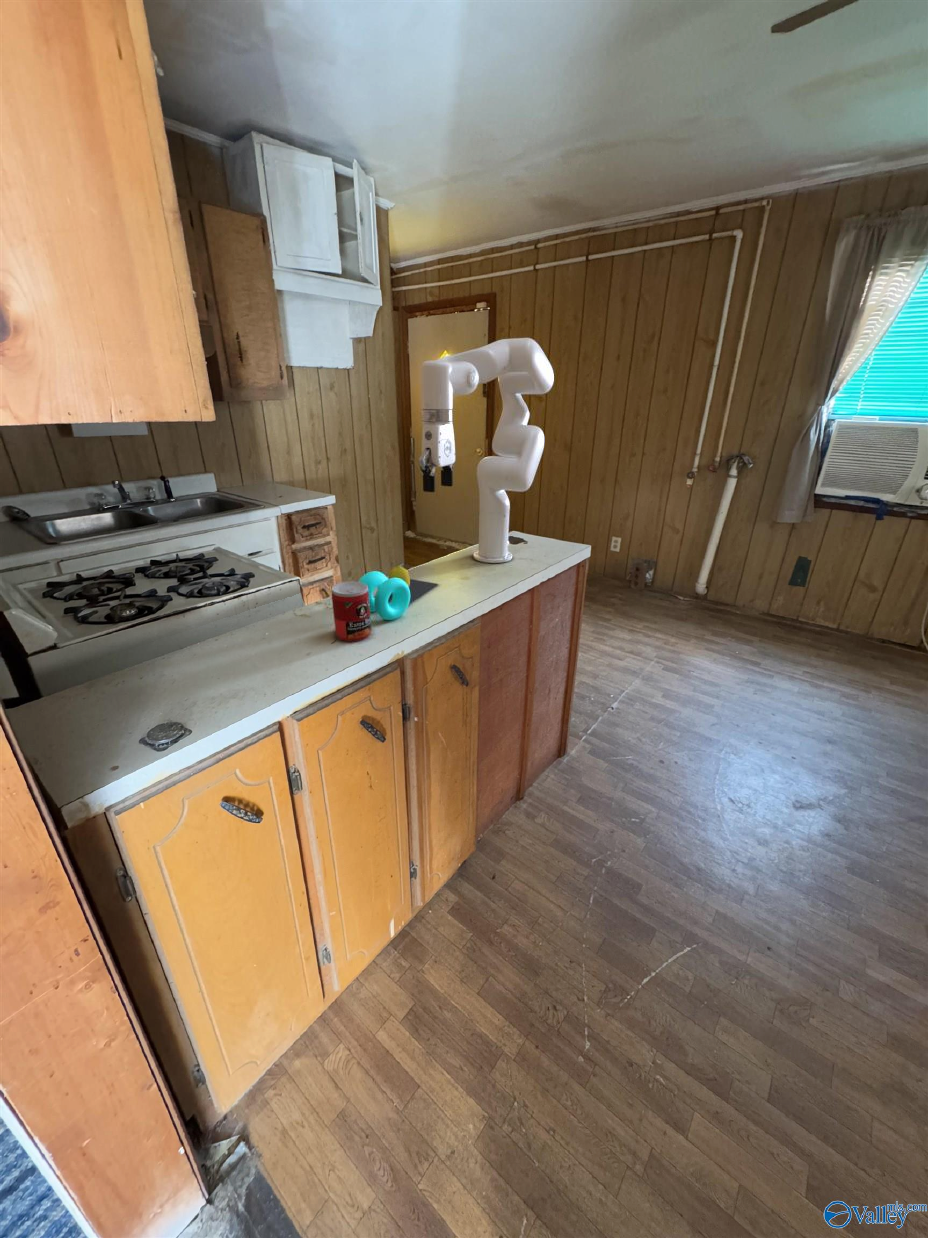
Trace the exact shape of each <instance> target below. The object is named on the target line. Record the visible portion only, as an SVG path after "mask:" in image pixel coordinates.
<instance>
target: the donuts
mask: <svg viewBox="0 0 928 1238" xmlns="http://www.w3.org/2000/svg"><path fill="white" fill-rule="evenodd" d="M388 578H389V577H388V576H386V575H385V574H384V573H383V572H381V571H376V570H373V571H369V572H367V573H365V574H364V575H363V576H361V577H360V579H358V582H361V583H364V584H366V585H367V586H368V593H369V606H370V613H374V612H376V613H377V615H378V616H379V617H380V618H381V619H383V620H386V621H394V620H397V619H398V618H401V616H403V615H404V613H405V612H406V611H407V609H408V607H409V605H410V604H409V602H410V590H409V587H408V585H407V584H406V582H405V581H403V580H402V579H399V578H390V579H388ZM376 589H377V590H376ZM375 590H376V592H375V595H374V591H375ZM391 593H392V594H393V598H392V600H391V602H390V603H388V599H389V596H390V595H391Z"/></svg>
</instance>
